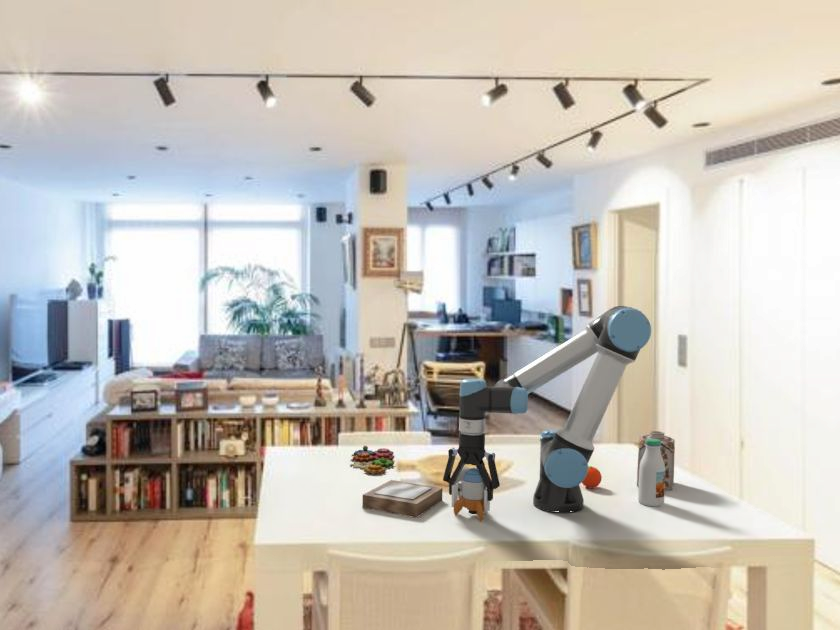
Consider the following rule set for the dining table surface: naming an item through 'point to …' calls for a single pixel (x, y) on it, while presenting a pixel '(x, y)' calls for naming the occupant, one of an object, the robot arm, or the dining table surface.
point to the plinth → (402, 498)
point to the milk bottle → (652, 475)
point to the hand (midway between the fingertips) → (470, 508)
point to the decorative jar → (666, 453)
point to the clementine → (592, 477)
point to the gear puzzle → (373, 460)
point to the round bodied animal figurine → (461, 481)
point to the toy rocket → (472, 494)
